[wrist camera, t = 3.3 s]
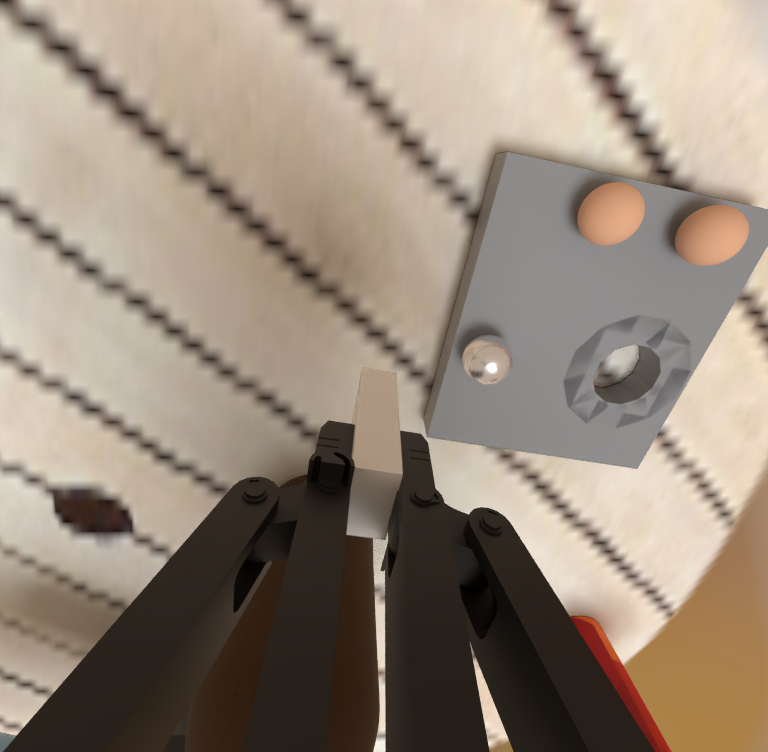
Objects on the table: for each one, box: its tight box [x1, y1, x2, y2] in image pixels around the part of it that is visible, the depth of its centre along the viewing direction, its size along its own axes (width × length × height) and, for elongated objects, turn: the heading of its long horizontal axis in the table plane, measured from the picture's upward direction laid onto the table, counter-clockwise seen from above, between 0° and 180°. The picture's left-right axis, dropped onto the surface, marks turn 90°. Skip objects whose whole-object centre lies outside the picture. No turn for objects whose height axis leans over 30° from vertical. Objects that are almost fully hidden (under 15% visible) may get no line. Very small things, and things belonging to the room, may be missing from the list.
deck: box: [424, 152, 768, 469], centre depth 28 cm, size 17×19×2 cm
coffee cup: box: [570, 616, 671, 752], centre depth 38 cm, size 8×8×15 cm
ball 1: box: [462, 335, 514, 385], centre depth 26 cm, size 3×3×3 cm
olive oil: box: [185, 475, 380, 752], centre depth 26 cm, size 11×11×25 cm
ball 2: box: [577, 182, 645, 246], centre depth 22 cm, size 3×3×3 cm
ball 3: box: [675, 205, 749, 266], centre depth 22 cm, size 3×3×3 cm
